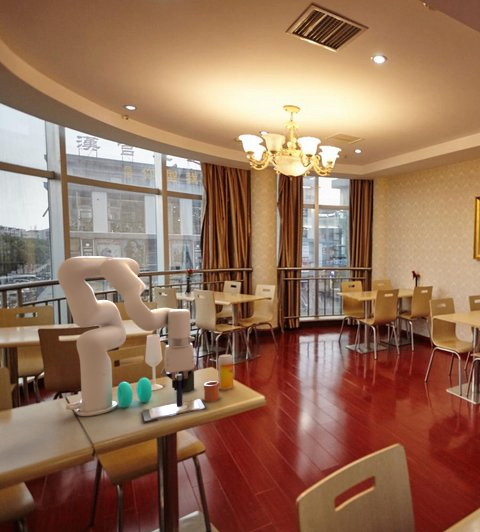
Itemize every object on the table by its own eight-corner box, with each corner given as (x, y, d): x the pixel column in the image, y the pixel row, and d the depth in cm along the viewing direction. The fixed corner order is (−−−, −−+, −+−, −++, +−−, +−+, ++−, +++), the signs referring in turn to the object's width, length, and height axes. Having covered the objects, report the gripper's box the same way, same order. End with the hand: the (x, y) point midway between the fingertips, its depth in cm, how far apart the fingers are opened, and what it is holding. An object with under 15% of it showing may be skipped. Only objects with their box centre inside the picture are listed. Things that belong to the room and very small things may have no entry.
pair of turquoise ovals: (116, 404, 157) (116, 380, 156) (145, 397, 164) (144, 374, 164) (123, 411, 150) (123, 385, 150) (153, 403, 158) (152, 379, 157)
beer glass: (235, 388, 176) (235, 355, 176) (221, 391, 172) (221, 358, 171) (229, 385, 180) (229, 353, 180) (216, 388, 176) (215, 355, 175)
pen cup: (205, 403, 158) (205, 386, 158) (203, 399, 163) (203, 382, 163) (220, 400, 162) (219, 383, 161) (217, 396, 166) (217, 380, 166)
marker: (176, 407, 149) (176, 375, 149) (176, 405, 151) (175, 374, 150) (183, 406, 150) (182, 374, 150) (182, 404, 152) (182, 373, 152)
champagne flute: (146, 386, 178) (145, 334, 177) (163, 384, 181) (162, 333, 180) (144, 391, 172) (143, 337, 171) (162, 388, 175) (161, 336, 174)
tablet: (144, 423, 140) (144, 420, 140) (142, 412, 150) (142, 409, 150) (205, 410, 152) (205, 407, 152) (200, 400, 161) (200, 398, 161)
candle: (188, 393, 169) (187, 336, 168) (177, 393, 169) (176, 336, 168) (195, 389, 174) (194, 334, 173) (184, 389, 174) (183, 334, 173)
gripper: (200, 337, 158) (200, 382, 158) (154, 342, 148) (154, 390, 149) (204, 341, 151) (204, 387, 152) (155, 346, 142) (156, 396, 143)
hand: (179, 388), depth 150 cm, fingers closed on marker, 2 cm apart
